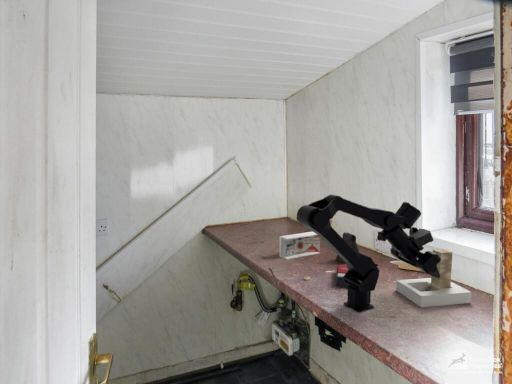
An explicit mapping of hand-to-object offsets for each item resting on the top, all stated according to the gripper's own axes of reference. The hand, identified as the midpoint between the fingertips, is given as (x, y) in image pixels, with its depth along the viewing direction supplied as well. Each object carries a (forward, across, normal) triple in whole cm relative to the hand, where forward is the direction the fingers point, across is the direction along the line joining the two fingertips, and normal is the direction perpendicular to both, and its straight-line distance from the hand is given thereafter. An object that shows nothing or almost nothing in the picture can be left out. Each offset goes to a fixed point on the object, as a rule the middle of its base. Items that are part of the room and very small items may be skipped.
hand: (429, 272), depth 114 cm
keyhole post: (+9, 0, +3) cm, 9 cm away
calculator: (-6, +18, +19) cm, 27 cm away
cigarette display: (-13, +54, +25) cm, 60 cm away
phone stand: (0, +40, +12) cm, 42 cm away
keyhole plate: (+7, 0, +5) cm, 8 cm away
